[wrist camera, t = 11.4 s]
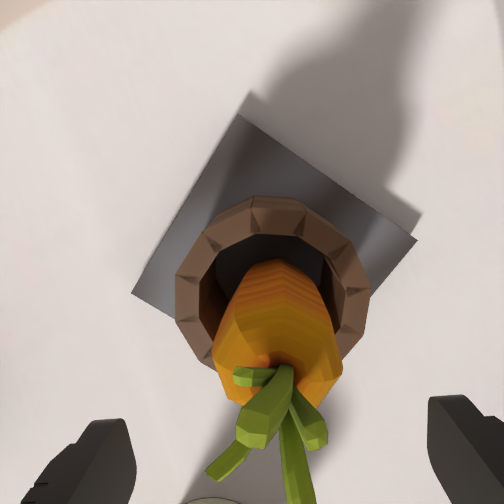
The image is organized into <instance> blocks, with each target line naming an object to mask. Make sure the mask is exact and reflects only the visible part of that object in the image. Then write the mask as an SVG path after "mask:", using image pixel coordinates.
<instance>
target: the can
mask: <svg viewBox="0 0 504 504" xmlns="http://www.w3.org/2000/svg"><path fill="white" fill-rule="evenodd" d="M187 504H238V503H236V502H233V501H230V500H226V499H220V498H204V499H198V500H195V501H192V502H189V503H187Z"/></svg>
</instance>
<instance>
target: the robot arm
mask: <svg viewBox="0 0 504 504" xmlns="http://www.w3.org/2000/svg"><path fill="white" fill-rule="evenodd" d="M427 450H428V455H429V459H430V462H431V465H432V468H433V470H434V472H435V474H436V476H437V478H438V480H439V482H440V483H441V485H442V487H443V489H444V491H445V492H446V494H447V496H448V498H449V500H450V501H451V503H452V504H504V422H502V421H501V420H499V419H498V418H496V417H495V416H485V417H484V416H483V414H482V413H481V412H480V411H479V410H478V409H477V408H476V407H475V405H474V404H473V403H472V402H471V401H470V400H469V399H468V398H467V397H466V396H464V395H447V396H434V397H430V398H429V401H428V424H427ZM136 473H137V466H136V460H135V456H134V453H133V449H132V445H131V441H130V437H129V433H128V430H127V426H126V423H125V421H124V420H123V419H121V418H119V419H105V420H94V421H92V422H91V423H90V424H89V425H88V426H87V428H86V429H85V431H84V432H83V433H82V435H81V436H80V438H79V439H78V441H77V442H76V443H74V444H69V445H68V446H67V447H66V448H65V449H64V450H63V451H62V452H60V453H59V454H58V455H57V456H56V457H55V458H54V459H53V460H51V461H50V462H49V464H48V465H47V466H46V468H45V469H44V471H43V472H42V473H41V475H40V476H39V477H38V479H37V480H36V482H35V483H34V487H33V488H30V490H29V491H28V493H27V494H26V495H25V497H24V498H23V499H22V501H21V504H128V502H129V500H130V497H131V495H132V492H133V489H134V486H135V481H136Z"/></svg>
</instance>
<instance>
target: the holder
mask: <svg viewBox="0 0 504 504" xmlns="http://www.w3.org/2000/svg"><path fill="white" fill-rule="evenodd" d="M417 241H418V240H417V239H415V238H414V237H412V236H411V235H410V234H408V233H407V232H405V231H404V230H402V229H401V228H400V227H398V226H397V225H395V224H394V223H392V222H391V221H390V220H388V219H387V218H385V217H384V216H382V215H381V214H380V213H378V212H377V211H375V210H374V209H372V208H371V207H370V206H368V205H367V204H365V203H364V202H363V201H361V200H360V199H358V198H357V197H355V196H354V195H353V194H351V193H350V192H348V191H347V190H345V189H344V188H343V187H341V186H340V185H338V184H337V183H335V182H334V181H333V180H331V179H330V178H328V177H327V176H326V175H324V174H323V173H321V172H320V171H318V170H317V169H316V168H314V167H313V166H311V165H310V164H308V163H307V162H306V161H304V160H303V159H301V158H300V157H298V156H297V155H296V154H294V153H293V152H291V151H290V150H289V149H287V148H286V147H284V146H283V145H281V144H280V143H279V142H277V141H276V140H274V139H273V138H271V137H270V136H269V135H267V134H266V133H264V132H263V131H261V130H260V129H259V128H257V127H256V126H254V125H253V124H252V123H250V122H249V121H247V120H246V119H244V118H243V117H242V116H240V115H239V114H238V115H237V116H236V118H235V120H234V121H233V123H232V125H231V126H230V128H229V130H228V131H227V133H226V135H225V136H224V138H223V140H222V141H221V143H220V145H219V146H218V148H217V150H216V151H215V153H214V155H213V156H212V158H211V160H210V161H209V163H208V165H207V166H206V168H205V170H204V171H203V173H202V175H201V176H200V178H199V180H198V181H197V183H196V185H195V186H194V188H193V190H192V191H191V193H190V195H189V197H188V198H187V200H186V202H185V203H184V205H183V207H182V208H181V210H180V212H179V213H178V215H177V217H176V218H175V220H174V222H173V223H172V225H171V227H170V228H169V230H168V232H167V233H166V235H165V237H164V238H163V240H162V242H161V243H160V245H159V247H158V248H157V250H156V252H155V253H154V255H153V257H152V258H151V260H150V262H149V263H148V265H147V267H146V268H145V270H144V272H143V274H142V275H141V277H140V279H139V280H138V282H137V284H136V285H135V287H134V289H133V290H132V292H131V294H133V295H135V296H137V297H138V298H140V299H142V300H143V301H145V302H147V303H148V304H150V305H152V306H153V307H155V308H157V309H158V310H160V311H162V312H163V313H165V314H167V315H168V316H170V317H172V318H173V319H175V321H176V324H177V326H178V327H179V329H180V331H181V332H182V334H183V336H184V337H185V339H186V340H187V342H188V344H189V345H190V347H191V349H192V350H193V352H194V353H195V355H196V357H197V358H198V360H199V361H200V362H201V363H203V364H204V365H206V366H208V367H210V368H211V369H213V370H215V371H216V372H217V369H216V366H215V364H214V361H213V359H212V353H211V350H212V344H213V342H214V339H215V336H216V334H217V331H218V328H219V325H220V323H221V320H222V318H223V316H224V313H225V311H226V309H227V306H228V304H229V302H230V301H231V299H232V297H233V295H234V293H235V292H236V290H237V288H238V286H239V285H240V283H241V281H242V279H243V277H244V276H245V274H246V273H247V272H248V270H249V269H250V268H251V267H252V266H253V265H255V264H256V263H260V262H264V261H267V260H271V259H275V258H280V259H282V260H284V261H286V262H288V263H290V264H291V265H293V266H295V267H297V268H299V269H300V270H301V271H303V272H304V273H305V274H306V275H307V276H308V277H309V278H310V279H311V280H312V281H313V282H314V284H315V286H316V288H317V290H318V291H319V293H320V295H321V297H322V300H323V302H324V304H325V307H326V309H327V311H328V313H329V316H330V318H331V322H332V326H333V330H334V334H335V337H336V341H337V345H338V349H339V353H340V356H341V360H343V358H344V357H345V356H346V355H347V354H348V353H349V352H350V350H351V349H352V348H353V347H354V346H355V345H356V343H357V342H358V341H359V340H360V339H361V338H362V336H363V335H364V330H365V324H366V318H367V312H368V306H369V300H370V297H371V296H372V295H373V293H374V292H375V291H376V290H377V289H378V287H379V286H380V285H381V284H382V283H383V281H384V280H385V279H386V278H387V277H388V275H389V274H390V273H391V272H392V271H393V269H394V268H395V267H396V266H397V265H398V263H399V262H400V261H401V260H402V259H403V257H404V256H405V255H406V254H407V253H408V251H409V250H410V249H411V248H412V247H413V245H414V244H415V243H416V242H417ZM362 334H363V335H362Z"/></svg>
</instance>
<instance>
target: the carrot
mask: <svg viewBox="0 0 504 504" xmlns="http://www.w3.org/2000/svg"><path fill="white" fill-rule="evenodd" d="M211 353H212V359H213V361H214V364H215V366H216V369H217V372H218V374H219V377H220V380H221V382H222V385H223V387H224V390H225V393H226V395H227V398H228V399H230V400H232V401H234V402H236V403H238V404H240V405H242V406H243V407H242V408H241V411H240V414H239V417H238V420H237V423H236V440H235V441H234V442H233V443H232V445H231V446H230V447H229V448H228V449H227V450H226V451H225V452H224V453H223V454H222V455H220V456H219V457H218V458H217V459H216V460H215V461H214V462H213V463H212V464H211V465H210V466H209V467H208V468H207V469H206V470H205V472H206V473H207V475H208V476H209V477H210V478H211V479H213V480H215V481H218V482H220V481H221V480H223V479H224V478H225V477H227V476H228V475H229V474H231V473H232V472H233V471H234V470H235V469H236V468H237V467H238V466H239V465H240V464H241V463H242V462H243V461H244V460H245V458H246V457H247V455H248V454H249V452H250V451H251V449H252V448H258V449H265V447H266V446H267V445H268V443H269V442H270V440H271V439H272V438H273V436H274V435H275V434H276V432H277V430H278V429H279V440H280V451H281V461H282V472H283V481H284V487H285V494H286V500H287V504H317V503H316V497H315V492H314V488H313V484H312V480H311V476H310V472H309V467H308V463H307V459H306V454H305V450H304V446H303V443H304V444H305V446H306V448H307V450H308V451H314V450H319V449H321V448H322V447H323V446H325V445H326V444H328V431H327V428H326V424H325V421H324V419H323V417H322V416H321V414H320V413H319V412H318V411H317V410H316V408H317V407H318V406H319V404H320V403H321V402H322V400H323V399H324V398H325V396H326V395H327V394H328V392H329V391H330V389H331V388H332V387H333V385H334V384H335V383H336V381H337V380H338V379H339V377H340V376H341V375H342V371H343V365H342V360H341V356H340V353H339V349H338V345H337V341H336V337H335V334H334V330H333V326H332V322H331V318H330V316H329V313H328V311H327V309H326V307H325V304H324V302H323V300H322V297H321V295H320V293H319V291H318V290H317V288H316V286H315V284H314V282H313V281H312V280H311V279H310V278H309V277H308V276H307V275H306V274H305V273H304V272H303V271H301V270H300V269H299V268H297V267H295V266H293V265H291V264H290V263H288V262H286V261H284V260H282V259H280V258H275V259H271V260H267V261H264V262H260V263H256V264H255V265H253V266H252V267H251V268H250V269H249V270H248V272H247V273H246V274H245V276H244V277H243V279H242V281H241V283H240V285H239V286H238V288H237V290H236V292H235V293H234V295H233V297H232V299H231V301H230V302H229V304H228V306H227V309H226V311H225V313H224V316H223V318H222V320H221V323H220V325H219V328H218V331H217V334H216V336H215V339H214V342H213V344H212V350H211Z"/></svg>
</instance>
